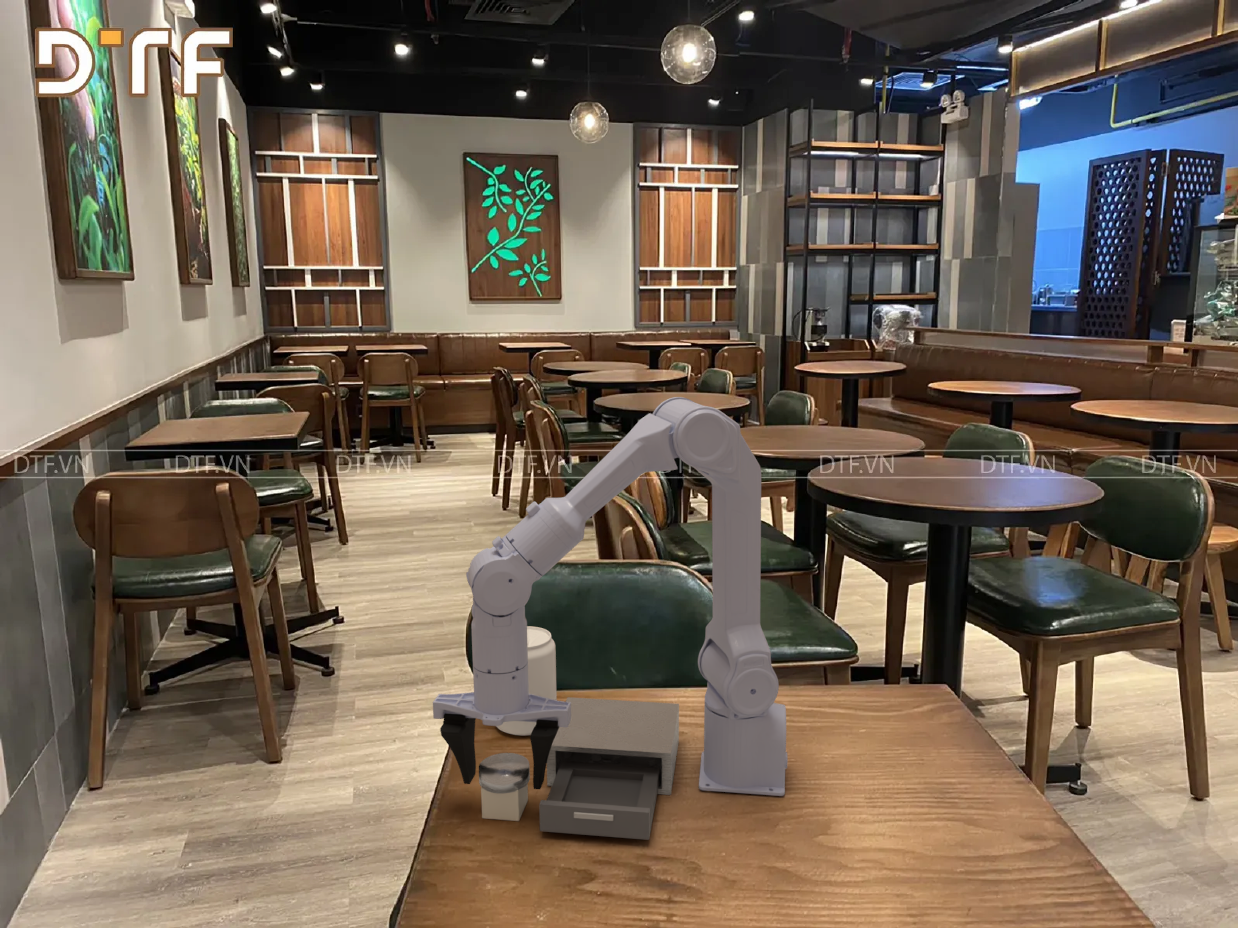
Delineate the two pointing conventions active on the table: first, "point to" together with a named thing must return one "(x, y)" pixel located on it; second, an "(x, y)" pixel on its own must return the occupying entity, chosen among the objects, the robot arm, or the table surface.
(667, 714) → the box
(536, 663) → the beverage can
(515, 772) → the disc
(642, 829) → the tray
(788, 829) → the table surface
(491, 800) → the riser block
